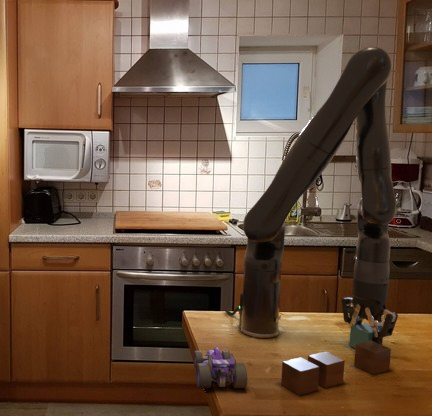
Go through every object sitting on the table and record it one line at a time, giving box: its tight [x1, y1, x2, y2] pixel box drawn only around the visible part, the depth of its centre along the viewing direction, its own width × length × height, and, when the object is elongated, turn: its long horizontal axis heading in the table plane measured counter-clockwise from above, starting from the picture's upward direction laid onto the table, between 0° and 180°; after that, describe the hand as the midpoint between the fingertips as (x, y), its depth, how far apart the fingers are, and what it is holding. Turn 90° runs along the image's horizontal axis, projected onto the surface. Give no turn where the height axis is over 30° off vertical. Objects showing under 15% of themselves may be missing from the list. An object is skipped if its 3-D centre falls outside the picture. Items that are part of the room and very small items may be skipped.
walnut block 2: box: [307, 351, 345, 389], centre depth 109 cm, size 5×5×5 cm
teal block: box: [348, 322, 374, 349], centre depth 125 cm, size 5×5×5 cm
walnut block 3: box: [353, 341, 392, 376], centre depth 115 cm, size 5×5×5 cm
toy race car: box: [192, 347, 248, 389], centre depth 111 cm, size 10×15×6 cm, turn 1°
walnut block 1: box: [280, 356, 319, 396], centre depth 106 cm, size 5×5×5 cm
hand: (365, 346), depth 125 cm, fingers closed on teal block, 5 cm apart
